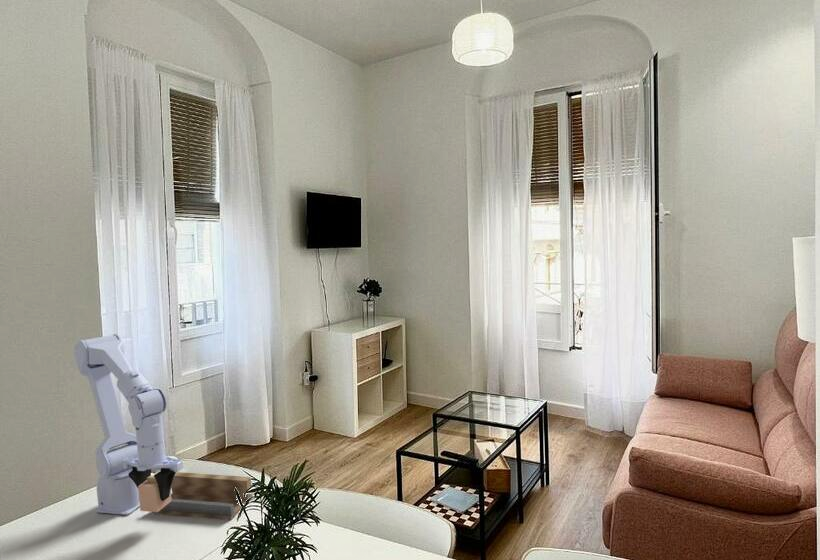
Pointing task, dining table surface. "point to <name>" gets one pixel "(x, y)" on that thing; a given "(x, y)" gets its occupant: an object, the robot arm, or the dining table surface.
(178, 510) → the lip
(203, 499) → the wall board
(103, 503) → the robot arm
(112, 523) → the dining table surface
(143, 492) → the cabinet block
